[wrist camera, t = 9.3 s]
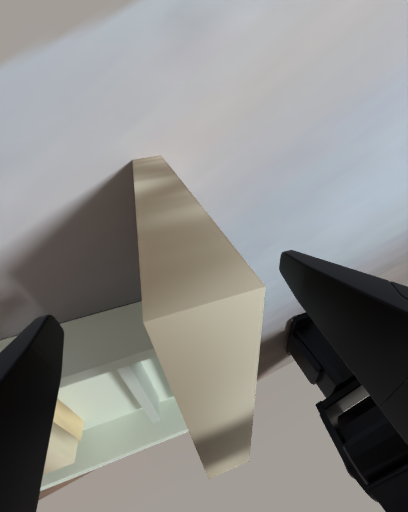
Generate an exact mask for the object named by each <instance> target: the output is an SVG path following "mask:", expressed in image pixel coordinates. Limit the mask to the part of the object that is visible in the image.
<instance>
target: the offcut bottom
mask: <svg viewBox="0 0 408 512" xmlns="http://www.w3.org/2000/svg"><path fill="white" fill-rule="evenodd" d="M53 422H55V423H56V424H58V425H59V426H60V427H62V428H63V429H65V430H66V431H67V432H69V433H70V434H72V435H73V436H75V437H76V438H77V439H78V442H80V441H81V438H82V431H83V424H84V420H82V419H81V418H80V417H79V416H78V415H76V414H75V413H74V412H73V411H72V410H71V409H69V408H68V407H67V406H66V405H65V404H64V403H62V402H61V401H60V400H59V399H58V398H57V403H56V408H55V414H54V419H53Z"/></svg>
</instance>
